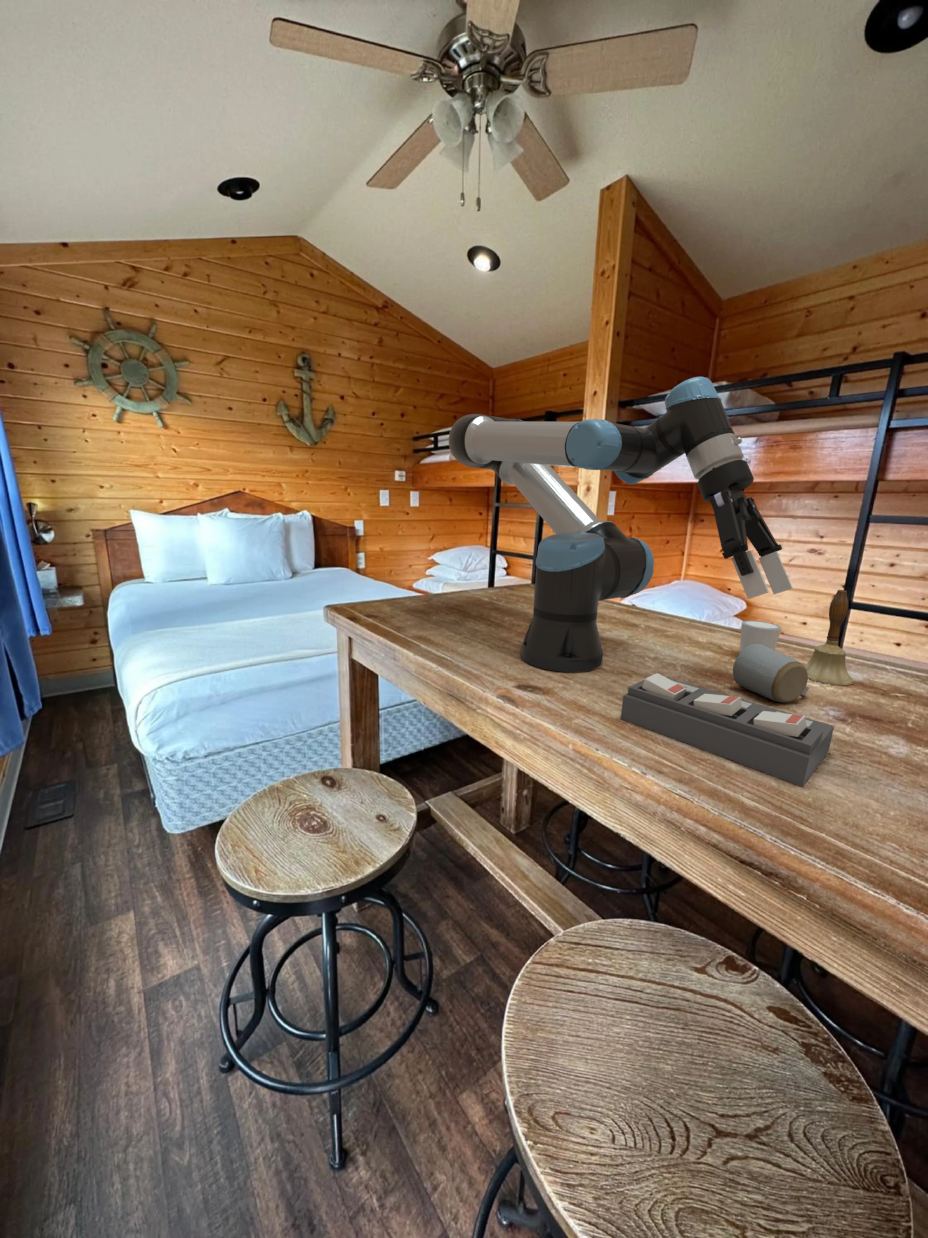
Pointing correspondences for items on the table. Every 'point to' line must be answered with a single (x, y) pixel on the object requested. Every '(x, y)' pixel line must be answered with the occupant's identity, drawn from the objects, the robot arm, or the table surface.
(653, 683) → the rocker
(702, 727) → the rocker switch box
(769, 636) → the white cylinder
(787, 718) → the rocker
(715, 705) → the middle rocker
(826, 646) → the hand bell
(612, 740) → the table surface
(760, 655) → the ceramic mug
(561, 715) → the table surface
